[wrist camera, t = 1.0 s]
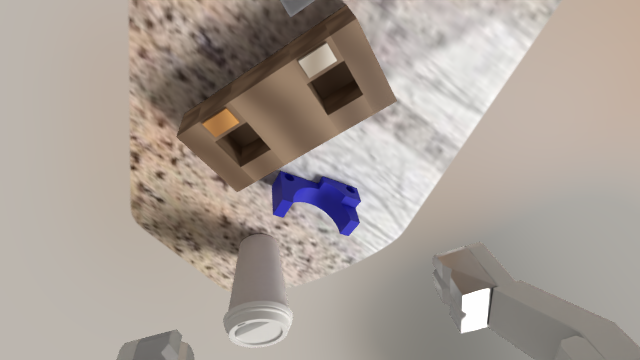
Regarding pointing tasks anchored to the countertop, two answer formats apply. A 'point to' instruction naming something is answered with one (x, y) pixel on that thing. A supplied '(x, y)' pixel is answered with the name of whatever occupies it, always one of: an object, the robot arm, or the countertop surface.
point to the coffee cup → (258, 295)
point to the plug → (295, 5)
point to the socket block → (289, 103)
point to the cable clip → (318, 198)
